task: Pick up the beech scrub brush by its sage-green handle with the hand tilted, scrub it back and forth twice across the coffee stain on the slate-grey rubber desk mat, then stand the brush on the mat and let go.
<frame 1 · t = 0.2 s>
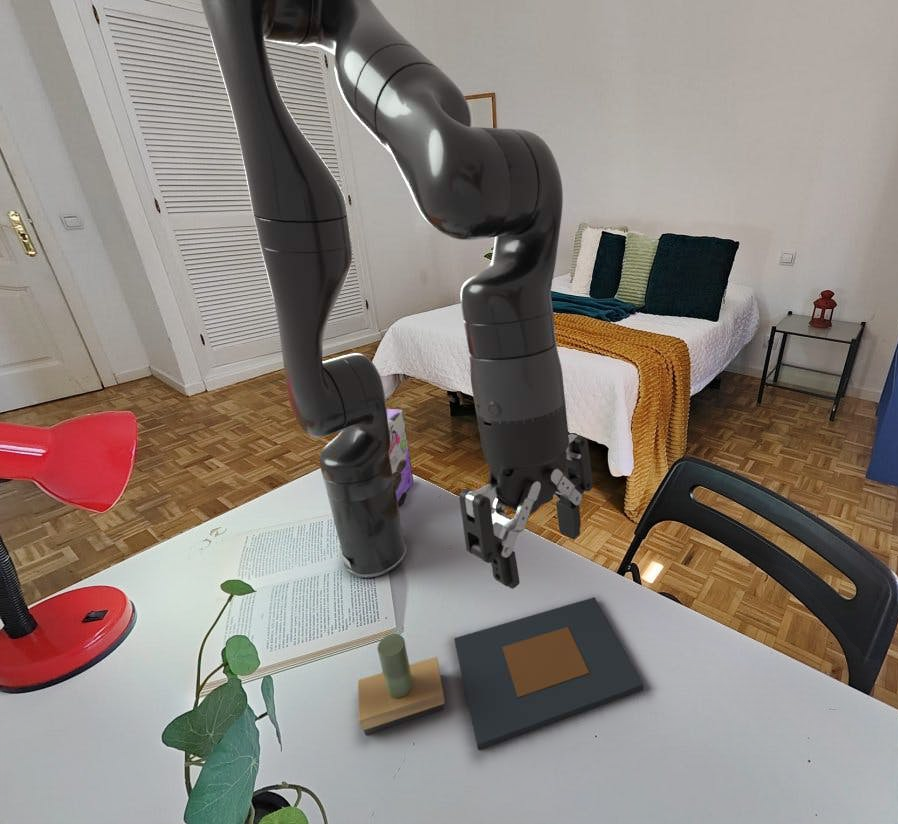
hand: (541, 558, 47), 22 cm above the table, tool pointing down, fingers open, 8 cm apart
candy box: (384, 504, 91), on the table
brush: (403, 703, 57), on the table
desk mat: (544, 665, 62), on the table
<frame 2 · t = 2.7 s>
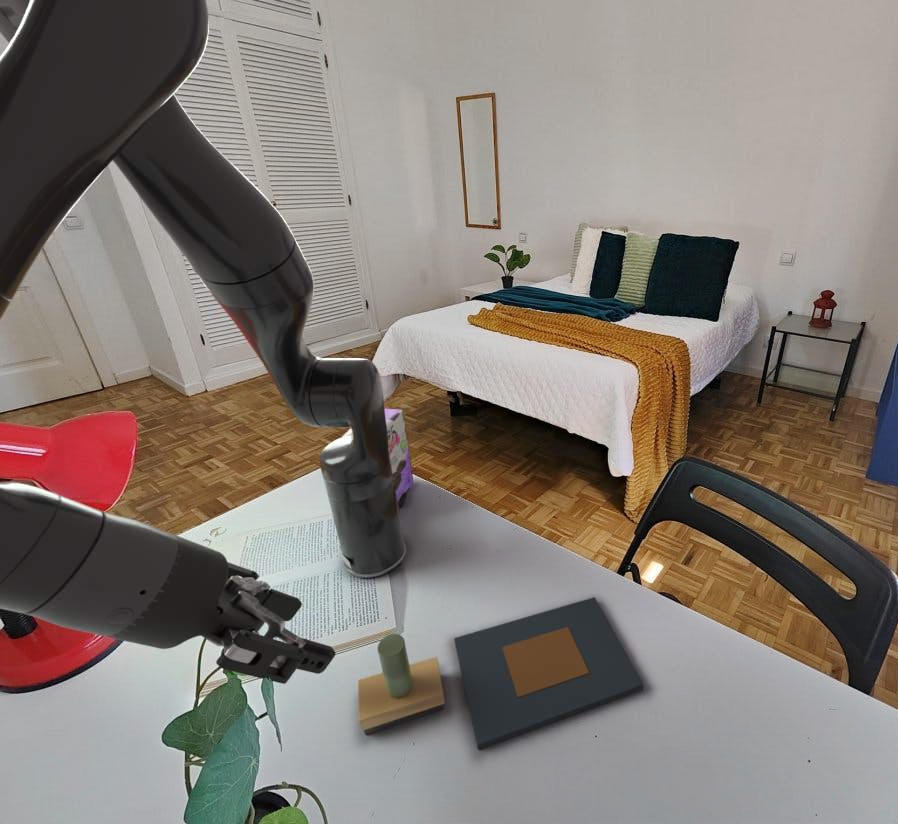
hand: (310, 634, 47), 16 cm above the table, tool tilted 35°, fingers open, 8 cm apart
nothing on the table moved.
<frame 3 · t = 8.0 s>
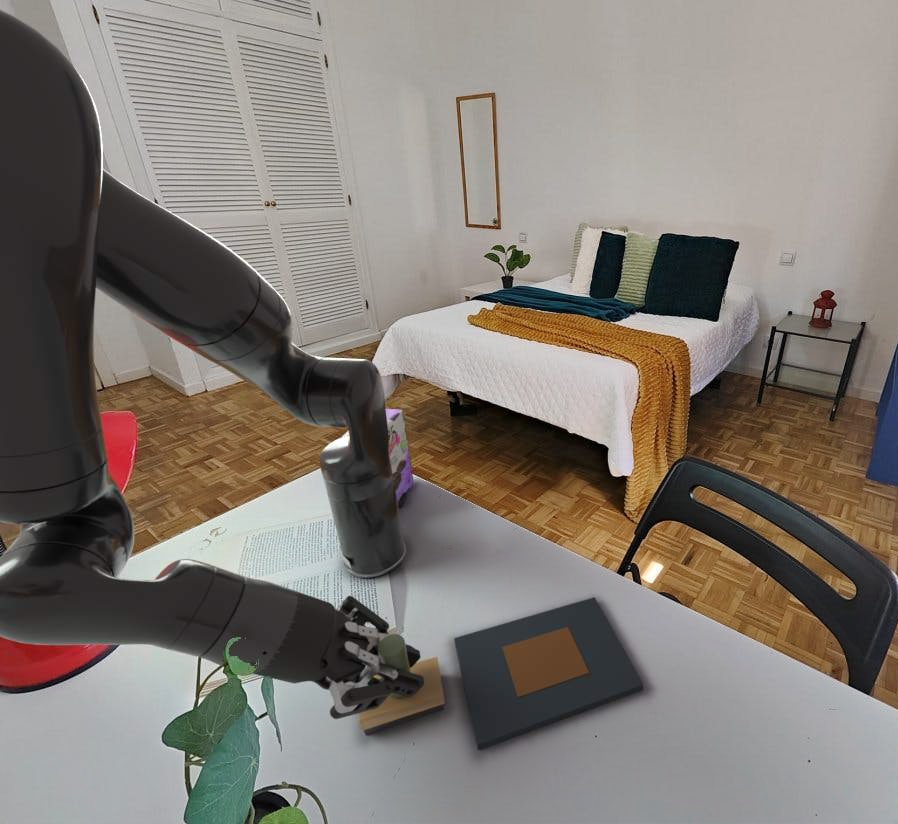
hand: (416, 672, 56), 4 cm above the table, tool tilted 45°, fingers closed on brush, 3 cm apart
brush: (403, 703, 57), on the table, touching gripper
everything else where it was.
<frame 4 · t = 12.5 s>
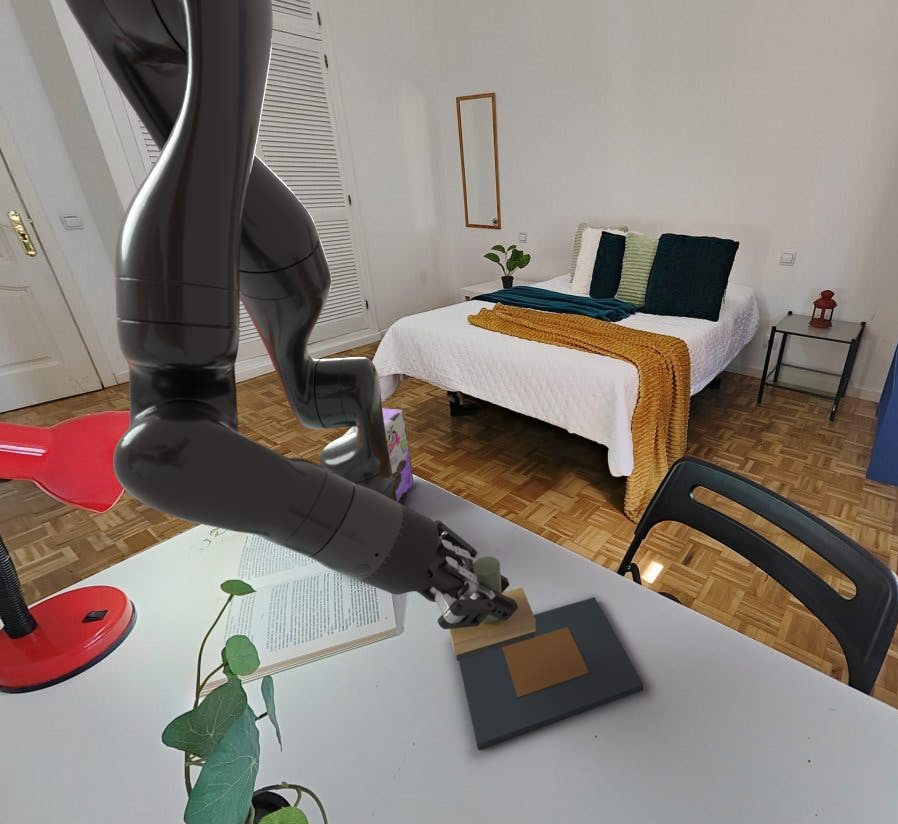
hand: (507, 598, 54), 13 cm above the table, tool tilted 45°, fingers closed on brush, 3 cm apart
brush: (491, 632, 56), point 9 cm above the table, touching gripper
everything else where it was.
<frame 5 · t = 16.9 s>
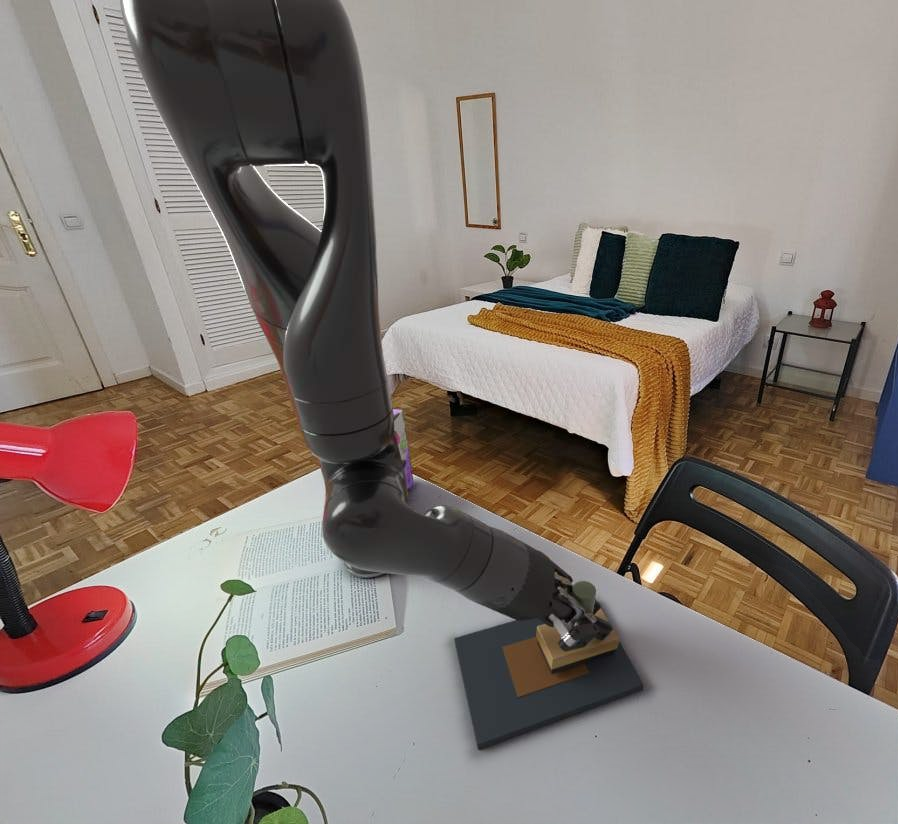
hand: (600, 620, 61), 5 cm above the table, tool tilted 45°, fingers closed on brush, 3 cm apart
brush: (575, 648, 62), point 1 cm above the table, touching gripper
everything else where it was.
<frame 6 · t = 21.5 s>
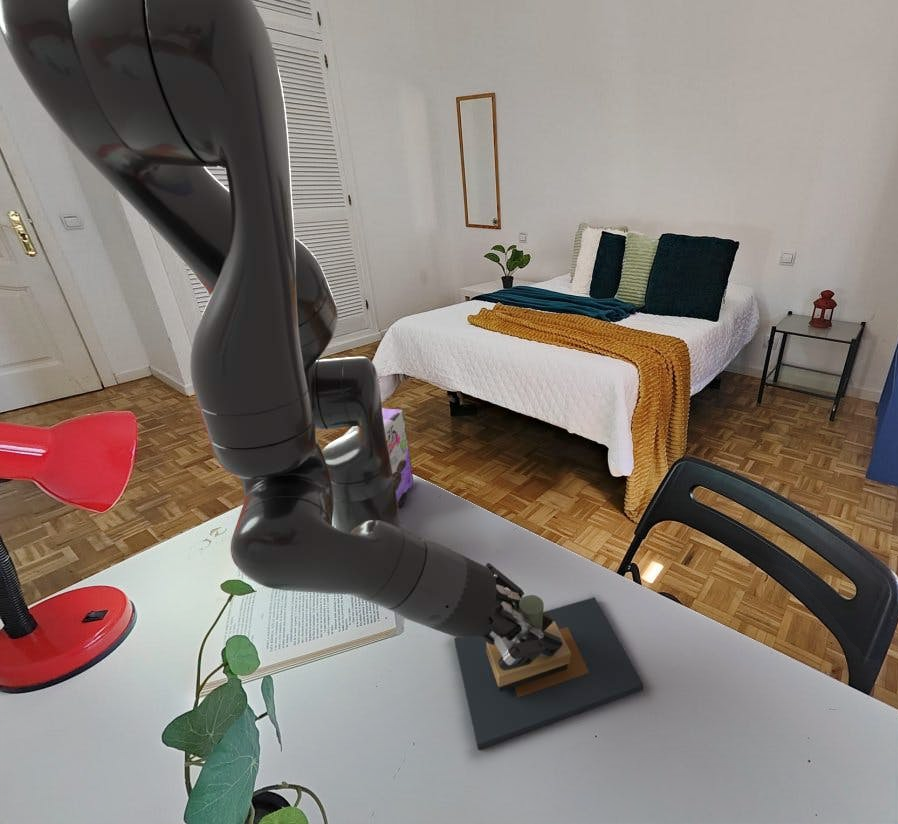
hand: (551, 635, 59), 5 cm above the table, tool tilted 45°, fingers closed on brush, 3 cm apart
brush: (527, 664, 60), point 1 cm above the table, touching gripper
everything else where it was.
when the fingers open (5 cm above the table, at t = 25.9 s): brush stays where it is, resting on desk mat.
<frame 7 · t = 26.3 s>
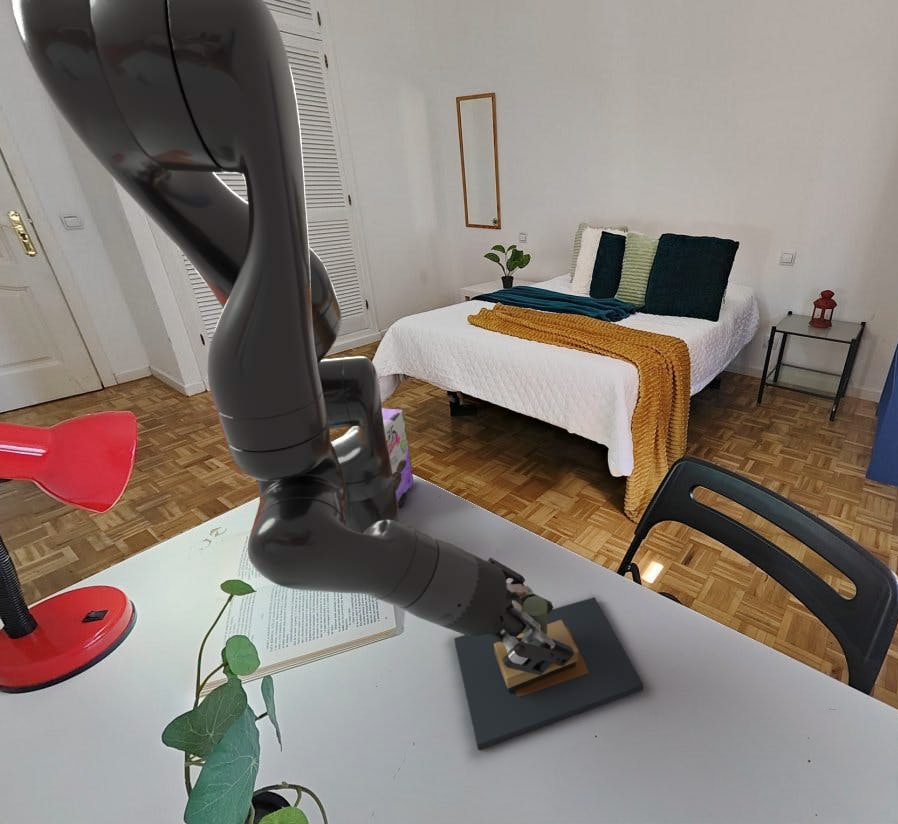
hand: (557, 632, 60), 5 cm above the table, tool tilted 45°, fingers open, 6 cm apart
brush: (536, 663, 61), point 1 cm above the table, touching desk mat
everything else where it was.
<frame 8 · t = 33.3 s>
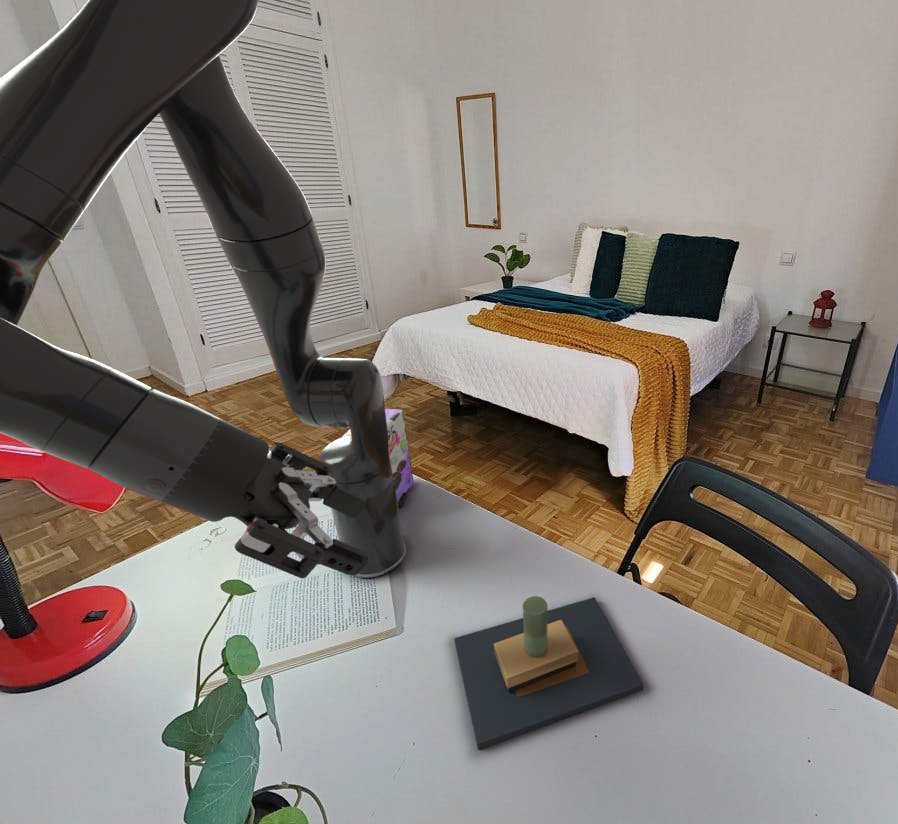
hand: (362, 535, 48), 24 cm above the table, tool tilted 45°, fingers open, 8 cm apart
nothing on the table moved.
at the end: brush inside the target area (1.2 cm from its centre), point 1.1 cm above the table; brush tilted 0°; brush touching desk mat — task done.
